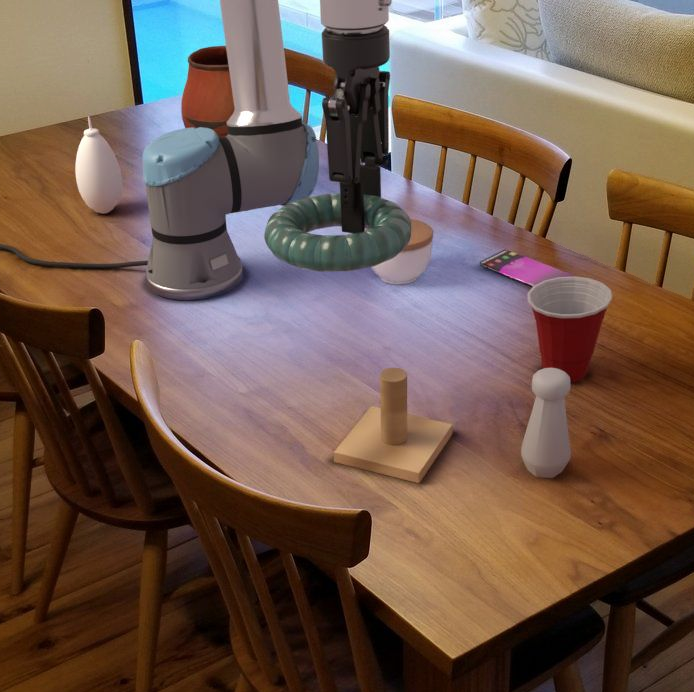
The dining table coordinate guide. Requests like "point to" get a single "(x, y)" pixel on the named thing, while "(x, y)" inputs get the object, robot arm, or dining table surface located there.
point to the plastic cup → (568, 321)
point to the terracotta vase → (208, 91)
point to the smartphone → (522, 268)
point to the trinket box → (408, 257)
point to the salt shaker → (547, 425)
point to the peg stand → (393, 435)
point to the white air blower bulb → (97, 172)
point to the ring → (336, 250)
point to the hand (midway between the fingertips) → (361, 224)
